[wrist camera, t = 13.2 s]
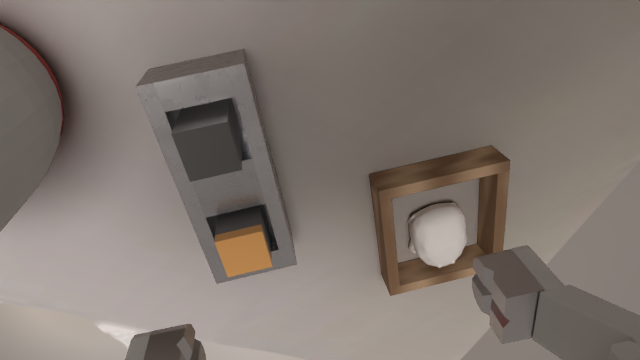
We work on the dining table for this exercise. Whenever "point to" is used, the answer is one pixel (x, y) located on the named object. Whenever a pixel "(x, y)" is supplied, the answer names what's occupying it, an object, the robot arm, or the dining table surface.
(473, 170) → the garlic corral
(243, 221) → the plug
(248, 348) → the dining table surface
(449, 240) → the garlic
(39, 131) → the citrus juicer
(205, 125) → the twin plug
